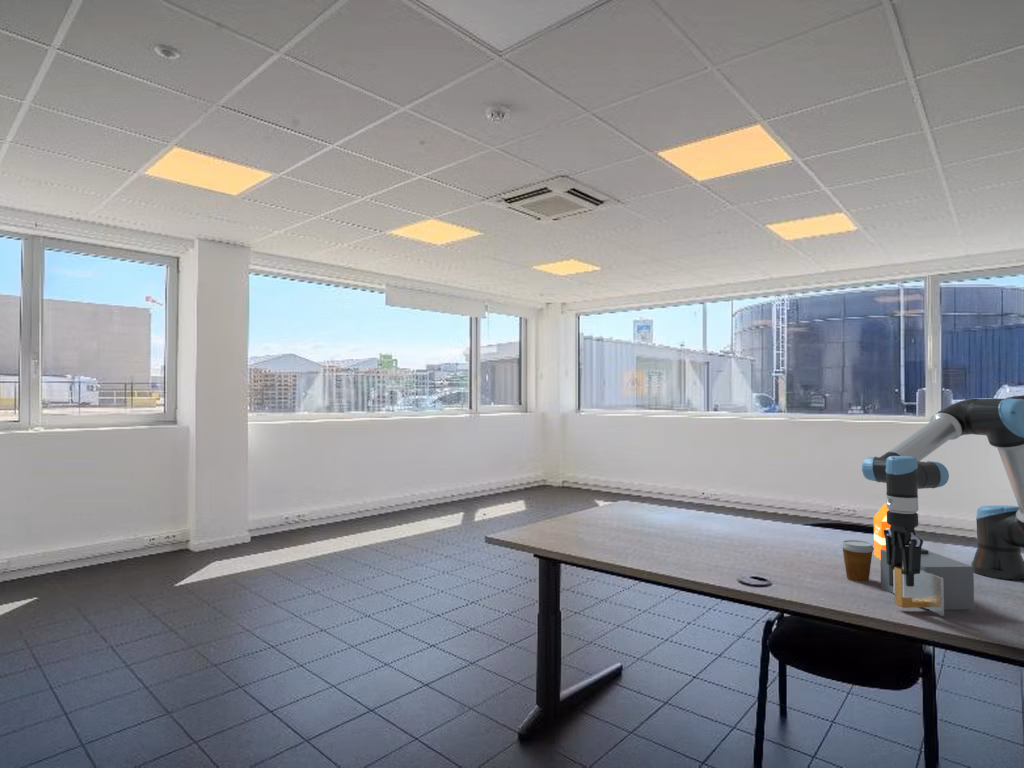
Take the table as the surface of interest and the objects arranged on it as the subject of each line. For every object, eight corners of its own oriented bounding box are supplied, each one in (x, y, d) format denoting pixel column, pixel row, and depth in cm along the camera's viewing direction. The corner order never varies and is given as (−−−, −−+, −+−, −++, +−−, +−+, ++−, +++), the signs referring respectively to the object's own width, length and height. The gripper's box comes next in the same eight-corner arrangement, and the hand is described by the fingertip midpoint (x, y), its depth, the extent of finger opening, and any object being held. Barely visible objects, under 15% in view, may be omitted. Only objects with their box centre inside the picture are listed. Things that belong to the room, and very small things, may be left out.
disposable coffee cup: (837, 579, 201) (836, 542, 201) (846, 573, 208) (846, 538, 208) (869, 585, 194) (869, 547, 194) (878, 579, 201) (877, 543, 201)
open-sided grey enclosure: (924, 587, 192) (923, 546, 193) (974, 609, 172) (973, 563, 173) (880, 587, 192) (880, 546, 192) (925, 609, 172) (924, 563, 172)
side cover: (911, 599, 178) (910, 561, 178) (944, 615, 165) (943, 574, 165) (883, 599, 177) (883, 562, 178) (914, 615, 164) (913, 574, 165)
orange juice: (896, 556, 230) (895, 503, 230) (905, 562, 221) (904, 507, 222) (873, 555, 232) (872, 502, 232) (881, 561, 223) (880, 506, 224)
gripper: (871, 506, 179) (872, 586, 179) (908, 516, 163) (909, 604, 163) (896, 506, 180) (897, 586, 179) (935, 516, 164) (937, 604, 163)
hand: (903, 594), depth 171 cm, fingers closed on side cover, 3 cm apart
